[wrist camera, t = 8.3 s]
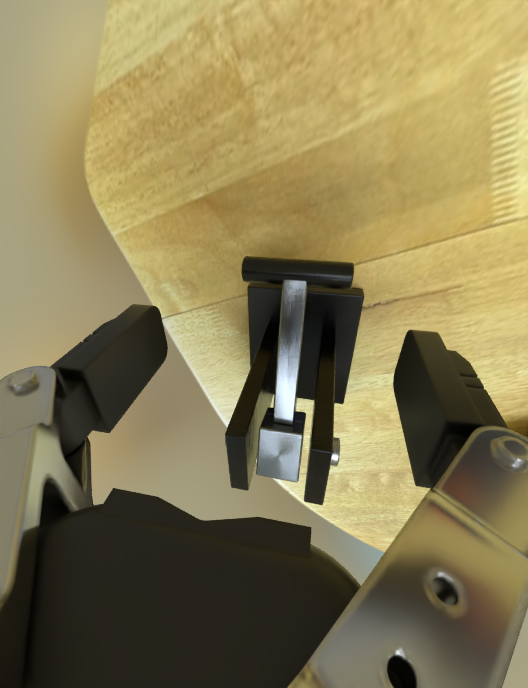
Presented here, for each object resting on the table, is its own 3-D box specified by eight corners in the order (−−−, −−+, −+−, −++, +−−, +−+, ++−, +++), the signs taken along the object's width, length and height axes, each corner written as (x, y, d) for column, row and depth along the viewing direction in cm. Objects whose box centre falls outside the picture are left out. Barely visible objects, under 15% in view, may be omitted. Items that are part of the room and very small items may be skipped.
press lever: (251, 256, 16) (238, 255, 13) (352, 262, 15) (356, 262, 13) (242, 445, 19) (230, 470, 16) (325, 459, 18) (325, 488, 15)
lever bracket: (251, 280, 23) (185, 385, 13) (363, 288, 21) (382, 413, 12) (254, 383, 28) (210, 509, 19) (343, 394, 27) (344, 538, 17)
